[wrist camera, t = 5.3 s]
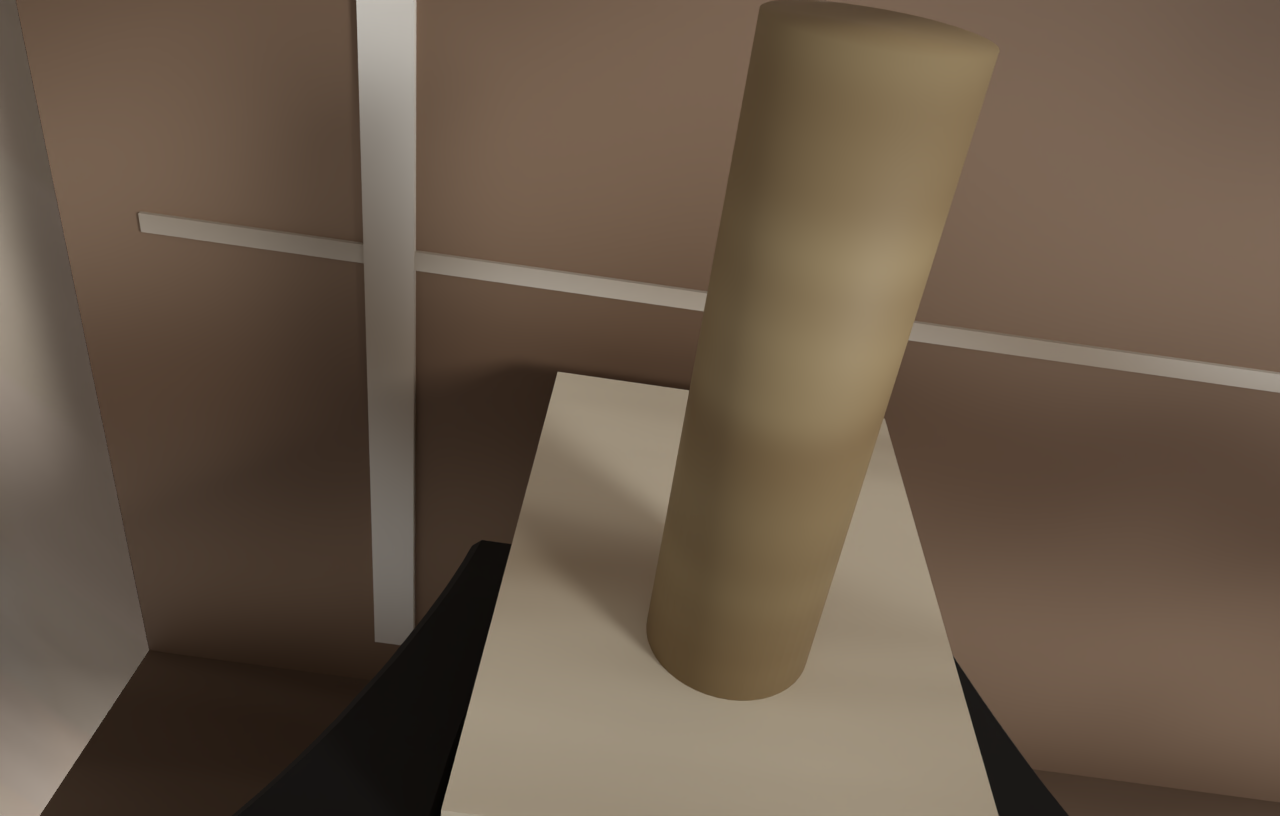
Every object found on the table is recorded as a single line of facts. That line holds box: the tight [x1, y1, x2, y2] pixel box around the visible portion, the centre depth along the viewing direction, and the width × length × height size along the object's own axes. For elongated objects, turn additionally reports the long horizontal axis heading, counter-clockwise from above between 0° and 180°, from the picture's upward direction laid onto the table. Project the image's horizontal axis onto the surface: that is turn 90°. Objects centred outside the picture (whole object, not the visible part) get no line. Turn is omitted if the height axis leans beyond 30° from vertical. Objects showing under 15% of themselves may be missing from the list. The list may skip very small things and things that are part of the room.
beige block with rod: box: [441, 0, 1000, 816], centre depth 9 cm, size 10×4×6 cm, turn 173°
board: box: [16, 0, 1280, 816], centre depth 12 cm, size 14×24×5 cm, turn 83°
